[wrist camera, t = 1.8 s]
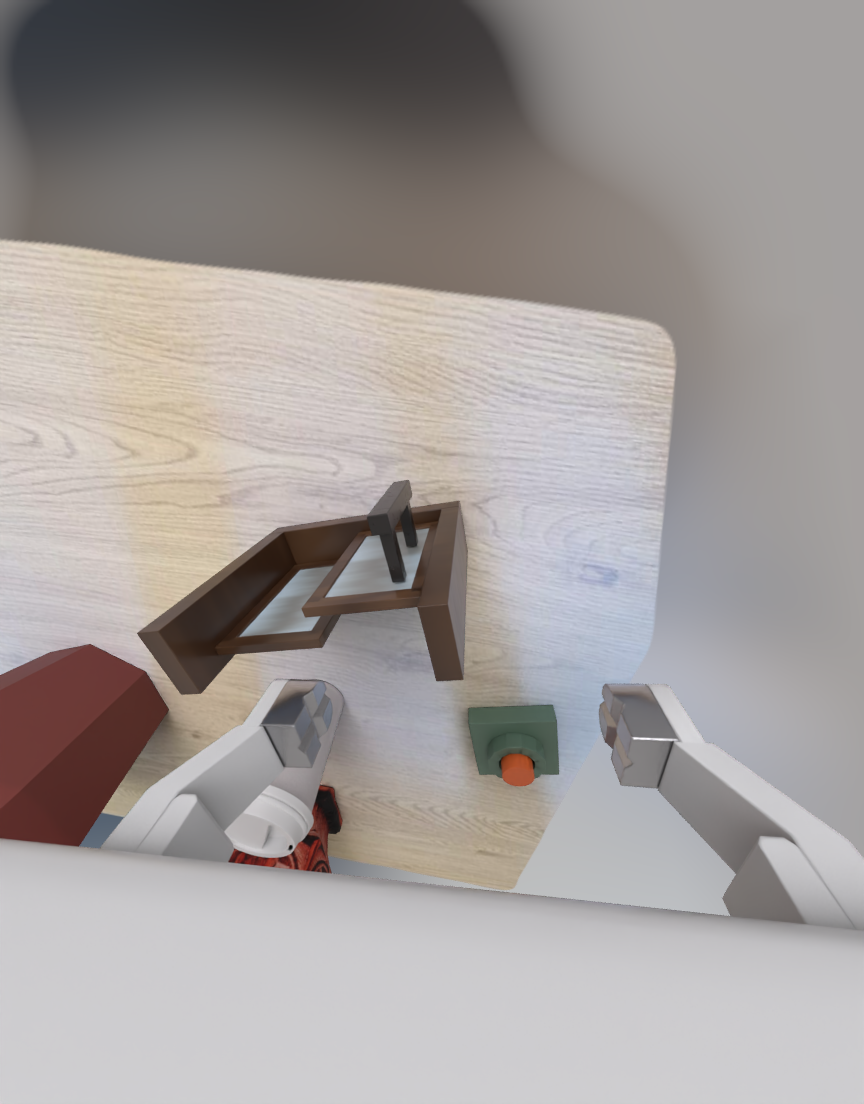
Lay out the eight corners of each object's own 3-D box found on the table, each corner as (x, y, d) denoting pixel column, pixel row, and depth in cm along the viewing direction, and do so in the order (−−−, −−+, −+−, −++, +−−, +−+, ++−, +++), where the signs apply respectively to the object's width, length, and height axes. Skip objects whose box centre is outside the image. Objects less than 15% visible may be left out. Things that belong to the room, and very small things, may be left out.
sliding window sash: (431, 466, 27) (406, 518, 17) (443, 527, 29) (427, 606, 19) (343, 481, 28) (269, 537, 18) (360, 539, 30) (304, 617, 20)
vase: (257, 771, 53) (43, 1159, 27) (340, 780, 52) (201, 1200, 25) (277, 818, 60) (120, 1169, 33) (352, 827, 58) (250, 1203, 32)
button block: (552, 704, 40) (560, 736, 36) (555, 757, 44) (562, 790, 40) (468, 707, 41) (468, 738, 38) (478, 758, 46) (479, 789, 42)
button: (531, 751, 38) (533, 767, 37) (533, 771, 40) (535, 786, 38) (499, 752, 39) (500, 767, 37) (502, 771, 40) (503, 786, 39)
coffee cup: (328, 731, 47) (271, 871, 33) (270, 694, 44) (184, 828, 31) (370, 700, 43) (323, 844, 29) (309, 658, 40) (229, 794, 27)
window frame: (459, 500, 30) (447, 603, 16) (467, 550, 32) (463, 680, 18) (277, 527, 33) (136, 633, 19) (295, 571, 35) (181, 695, 21)
